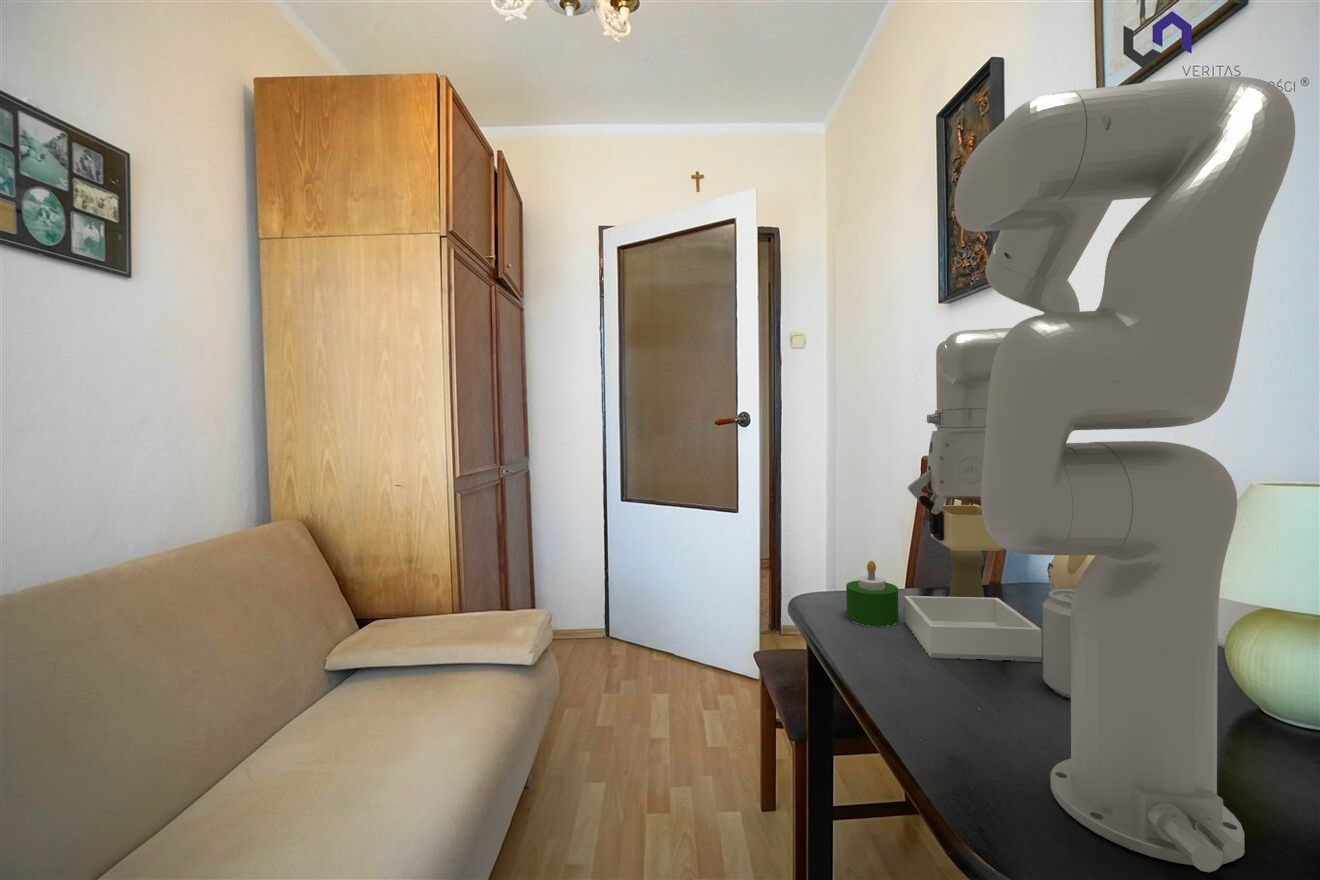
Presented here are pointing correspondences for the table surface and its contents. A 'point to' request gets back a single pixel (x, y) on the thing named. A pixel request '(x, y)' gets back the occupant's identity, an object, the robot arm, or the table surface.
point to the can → (1057, 641)
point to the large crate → (972, 629)
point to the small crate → (966, 529)
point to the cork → (966, 573)
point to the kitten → (1067, 570)
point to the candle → (872, 600)
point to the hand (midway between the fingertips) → (965, 538)
